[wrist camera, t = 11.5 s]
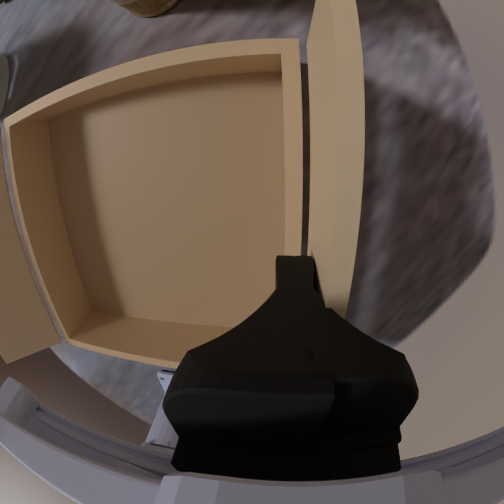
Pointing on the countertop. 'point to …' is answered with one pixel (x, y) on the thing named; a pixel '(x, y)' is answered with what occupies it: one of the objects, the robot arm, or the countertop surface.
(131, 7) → the sprinkles bottle
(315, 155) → the flap
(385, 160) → the countertop surface
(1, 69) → the french press
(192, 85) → the carton
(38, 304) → the flap
